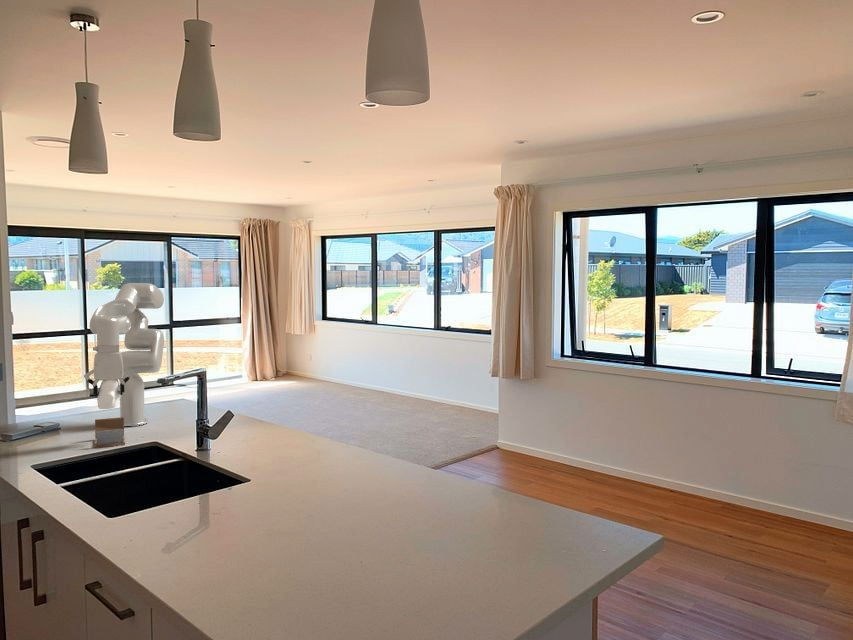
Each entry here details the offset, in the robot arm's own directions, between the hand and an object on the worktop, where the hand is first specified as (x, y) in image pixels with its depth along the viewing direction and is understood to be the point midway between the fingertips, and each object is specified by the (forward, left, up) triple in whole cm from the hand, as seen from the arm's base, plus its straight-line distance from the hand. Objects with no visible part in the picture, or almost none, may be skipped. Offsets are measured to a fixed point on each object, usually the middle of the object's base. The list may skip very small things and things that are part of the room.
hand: (109, 394), depth 237 cm
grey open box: (0, 0, -18) cm, 18 cm away
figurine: (0, 0, -5) cm, 5 cm away
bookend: (+4, 0, -17) cm, 18 cm away
